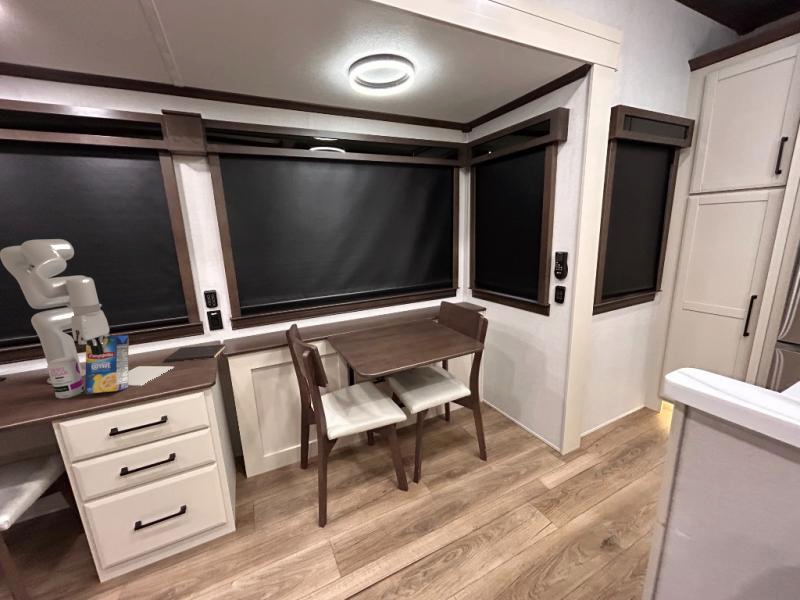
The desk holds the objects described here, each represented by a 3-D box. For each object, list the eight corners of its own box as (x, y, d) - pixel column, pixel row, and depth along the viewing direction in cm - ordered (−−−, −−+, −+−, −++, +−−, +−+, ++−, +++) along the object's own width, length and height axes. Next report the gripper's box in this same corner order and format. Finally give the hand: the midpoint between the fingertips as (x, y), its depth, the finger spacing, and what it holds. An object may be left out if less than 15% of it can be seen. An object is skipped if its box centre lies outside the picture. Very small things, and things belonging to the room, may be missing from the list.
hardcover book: (181, 351, 171) (180, 347, 171) (226, 348, 175) (225, 344, 175) (165, 363, 156) (164, 359, 155) (214, 359, 160) (214, 355, 159)
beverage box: (116, 390, 124) (116, 335, 126) (85, 393, 123) (86, 337, 125) (128, 387, 131) (128, 335, 133) (98, 390, 129) (99, 337, 132)
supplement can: (83, 387, 133) (74, 354, 129) (86, 393, 128) (77, 359, 124) (55, 395, 127) (45, 360, 123) (57, 401, 121) (46, 366, 118)
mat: (101, 385, 133) (101, 384, 133) (138, 367, 151) (138, 366, 151) (141, 386, 132) (140, 384, 132) (173, 367, 150) (173, 366, 150)
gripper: (97, 304, 127) (108, 347, 131) (55, 315, 112) (68, 362, 117) (114, 304, 126) (124, 347, 130) (74, 315, 112) (87, 362, 116)
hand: (98, 354), depth 124 cm, fingers closed
